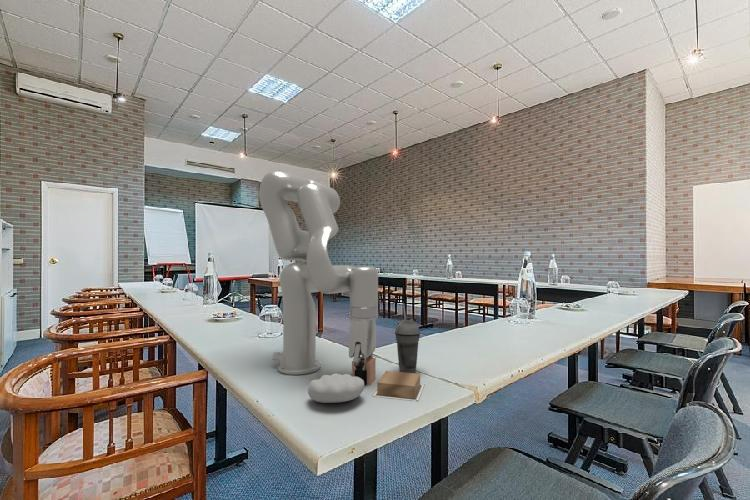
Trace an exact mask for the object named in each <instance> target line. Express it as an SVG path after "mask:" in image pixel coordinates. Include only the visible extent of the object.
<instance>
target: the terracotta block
mask: <svg viewBox="0 0 750 500" xmlns="http://www.w3.org/2000/svg"><path fill="white" fill-rule="evenodd" d="M361 357H362V356H361ZM362 358H364V357H362ZM360 362H362V364H363V360H360ZM376 363H377V361H376V357H373V358H371V357H368V358H366V369H365V370H367V385H366V386H372V384H373V383H374V382H375V380H376V377H377V375H376V369H377V368H376ZM351 376H352V377H355V370H354V363H353V360H352V361H351Z"/></svg>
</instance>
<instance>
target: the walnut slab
mask: <svg viewBox="0 0 750 500" xmlns="http://www.w3.org/2000/svg"><path fill="white" fill-rule="evenodd" d="M376 384H377V385H376V390H377V395H380V396H389V397H398V398H408V399H415V397H416V395H417V392H418V390H419V387H420V384H421V373H416V372H415V373H405V372H400V371H394V370H393V371H391V370H385V371H384V373H383V374H382V376H381V377H380V378H379V379H378V380H377V383H376Z"/></svg>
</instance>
